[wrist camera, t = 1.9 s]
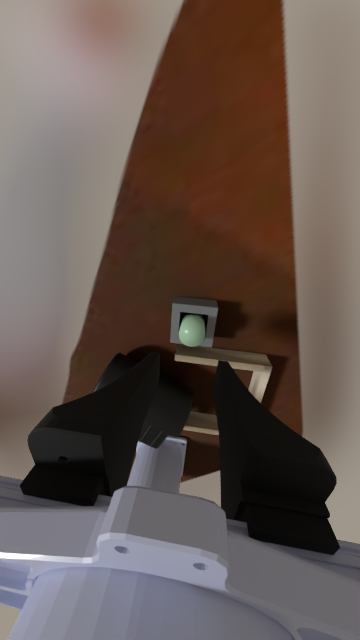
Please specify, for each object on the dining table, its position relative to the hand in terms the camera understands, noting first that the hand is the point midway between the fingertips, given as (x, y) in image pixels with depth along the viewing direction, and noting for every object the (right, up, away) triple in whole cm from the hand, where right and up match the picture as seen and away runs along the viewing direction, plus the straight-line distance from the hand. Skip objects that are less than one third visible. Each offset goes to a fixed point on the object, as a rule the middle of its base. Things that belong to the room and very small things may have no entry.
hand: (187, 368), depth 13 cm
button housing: (+1, +4, +9) cm, 9 cm away
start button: (+1, +3, +7) cm, 8 cm away
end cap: (-4, -4, +13) cm, 14 cm away
